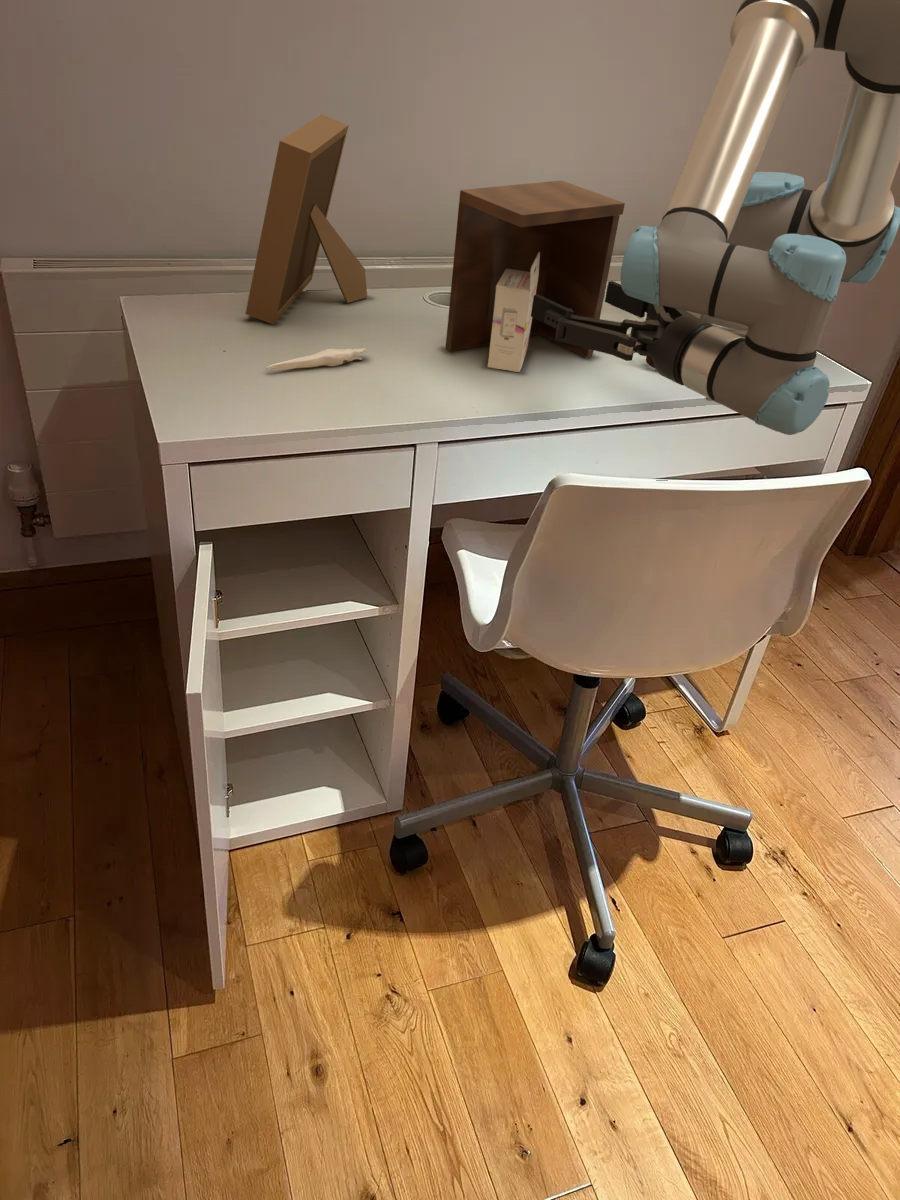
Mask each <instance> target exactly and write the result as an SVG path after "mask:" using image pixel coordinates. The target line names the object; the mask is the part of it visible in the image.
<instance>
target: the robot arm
mask: <svg viewBox="0 0 900 1200" xmlns="http://www.w3.org/2000/svg"><path fill="white" fill-rule="evenodd" d="M729 37H730V38H729V40H730V45H731V47H732V48H731V50H730V52H729V54H728V56H727V59H726V61H725V64H724V67H723V69H722V72H721V74H720V76H719V79H718V81H717V84H716V85H715V89H714V91H713V94H712V96H711V98H710V100H709V102H708V105H707V108H706V111H705V113H704V115H703V118H702V120H701V123H700V125H699V126H698V130H697V132H696V135H695V137H694V140H693V142H692V144H691V147H690V149H689V152H688V154H687V157H686V159H685V161H684V164H683V166H682V169H681V171H680V173H679V175H678V178H677V181H676V183H675V186H674V188H673V191H672V192H671V195H670V198H669V200H668V203H667V204H666V208H665V209H664V212H663V214H662V217H661V221H660V223H659V225H658V226H657V225H652V226H650V225H640V226H638V227H637V228H636V229H635V230H634V232H633V233H632V234H631V236H630V237H629V240H628V242H627V245H626V249H625V251H624V254H623V258H622V264H621V268H620V283H618V282H616V281H614V280H611V281H607V286H606V291H605V296H604V303H606V304H608V305H611V306H613V307H615V308H618V309H619V310H622V311H624V312H626V313H628V314H631V315H633V316H635V317H638V318H639V319H640V318H641V319H643V318H644V317H645V316H646V318H645V320H644V321H642V320H641V321H639V320H635V319H627V318H626V319H623V320H622V321H613V320H608V319H602V318H600V319H596V318H590V317H583V316H577V315H574V311H572V308H566V307H564V306H562V305H560V304H557V303H555V302H553V301H551V300H549V299H547V298H545V297H543V296H540V295H534V298H533V304H532V311H531V317H533V318H535V319H537V320H539V321H541V322H543V323H545V324H547V325H549V326H551V327H553V328H555V329H557V331H556V337H555V340H556V341H559V342H564V343H568V344H571V345H575V346H579V347H583V348H587V349H591V350H594V351H595V352H599V353H602V354H607V355H611V356H614V357H616V358H618V359H621V360H623V361H625V362H630V361H633V358H634V354H635V353H636V354H638V355H639V356H641V357H642V356H643V357H646V356H647V357H652V359H653V362H654V365H655V368H656V369H655V368H654V369H655V370H656V372H657V374H659V375H660V376H661V377H663V378H665V379H667V380H670V381H671V382H673V383H675V384H677V385H680V386H684V387H686V388H687V389H689V390H691V391H692V392H693V391H694V392H695V393H697V394H699V395H701V396H703V397H705V400H706V401H707V402H712V401H713V402H715V403H717V404H719V405H722V406H723V407H725V408H728V409H730V410H732V411H734V412H735V413H738V414H740V415H741V416H744V417H745V418H748V419H749V420H751V421H753V422H754V423H755V424H756V425H758V426H763V427H765V428H767V429H769V430H772V431H775V432H777V433H780V434H784V435H786V436H792V435H793V436H794V435H797V434H798V433H802V432H804V431H805V430H807V429H808V428H809V427H810V426H811V425H812V424H814V423H815V421H816V420H817V419H818V417H819V416H820V414H821V413H822V412H823V410H824V407H825V405H826V403H827V401H828V398H829V395H830V390H829V388H830V384H831V383H830V382H831V381H830V378H829V376H828V375H827V373H825V372H823V371H822V370H820V368H819V367H817V366H815V360H816V358H817V352H818V349H819V346H820V343H821V341H822V338H823V335H824V332H825V329H826V327H827V323H828V321H829V318H830V315H831V312H832V309H833V307H834V304H835V301H836V300H837V296H838V291H839V288H840V284H841V283H854V284H861V285H862V284H866V283H869V282H870V281H872V280H873V279H874V278H875V277H876V275H877V274H878V272H879V271H880V269H881V267H882V265H883V263H884V261H885V260H886V257H887V254H888V252H889V250H890V248H891V247H892V245H893V242H894V240H895V238H896V236H897V233H898V230H899V228H900V206H897V205H895V198H894V194H893V192H892V191H891V188H892V184H893V182H894V178H895V176H896V172H897V170H898V166H899V164H900V0H742V1H741V3H740V5H739V7H738V10H737V12H736V13H735V17H734V19H733V21H732V23H731V27H730V31H729ZM814 49H823V50H829V51H835V52H842V53H844V67H845V70H846V72H847V75H848V76H849V78H850V79H851V80H850V84H849V85H850V86H849V89H848V94H847V98H846V100H845V101H846V102H845V106H844V108H843V109H844V110H843V114H842V117H841V121H840V125H839V129H838V134H837V139H836V142H835V146H834V150H833V154H832V159H831V161H830V167H829V171H828V175H827V179H826V181H824V182H823V183H821V185H819V187H818V188H817V189H816V190H814V189H813V190H812V189H807V188H805V179H804V177H803V176H801V175H799V174H792V173H788V172H780V171H779V172H778V171H777V172H776V171H756V170H757V168H758V166H759V163H760V161H761V157H762V155H763V152H764V150H765V148H766V145H767V144H768V143H767V142H768V140H769V137H770V135H771V132H772V131H773V128H774V125H775V122H776V120H777V117H778V115H779V113H780V110H781V108H782V105H783V103H784V100H785V97H786V94H787V92H788V90H789V87H790V84H791V82H792V81H793V80H792V79H793V77H794V75H795V72H796V70H797V69H798V68H799V67H801V66H802V65H803V64H804V63H805V62H806V61H808V60H809V58H810V57H811V55H812V53H813V51H814ZM645 314H646V315H645ZM628 329H630V332H629V333H628Z"/></svg>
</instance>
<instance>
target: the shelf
mask: <svg viewBox="0 0 900 1200" xmlns="http://www.w3.org/2000/svg"><path fill="white" fill-rule="evenodd" d="M625 204H626V202H623V201H621V200H618V199H615V198H612V197H610V196H607V195H604V194H602V193H601V194H600V193H598V192H595V191H592V190H589V189H586V188H585V187H581V186H578V185H576V184H573V183H570V182H568V181H564V180H562V179H561V180H552V181H542V182H541V181H540V182H531V183H521V184H509V185H499V186H498V185H497V186H488V187H477V188H476V187H475V188H465V189H460V190H459V201H458V209H457V210H458V211H457V221H456V230H455V231H456V232H455V240H454V241H455V242H454V253H453V262H452V263H453V264H452V274H451V284H450V285H451V286H450V295H449V306H448V316H447V317H448V318H447V328H446V340H445V350H446V351H447V352H449V353H453V352H458V351H463V350H467V349H472V348H478V347H482V346H486V345H490V341H491V332H492V323H493V314H494V304H495V295H496V285H497V283H498V282H499V280H500V278H501V276H502V275H503V273H504V271H505V270H506V268H507V269H514V270H520V271H527V272H530V271H531V266H532V264H533V262H534V260H535V258H536V256H537V254H538V252H540V261H539V276H538V283H537V289H536V295H540V296H543V297H545V298H547V299H549V300H551V301H553V302H555V303H557V304H560V305H562V306H564V307H566V308H572V311H574V315H577V316H583V317H590V318H596V319H601V314H602V310H603V309H602V308H603V304H604V300H605V295H606V290H607V285H608V277H609V274H610V267H611V263H612V257H613V253H614V247H615V242H616V236H617V231H618V226H619V221H620V216H621V215H624V211H625ZM535 270H536V267H535ZM535 270H534V272H535ZM556 331H557V329H555V328H553V327H551V326H549V325H547V324H545V323H543V322H541V321H539V320H537V319H535V318H533V317H532V323H531V329H530V336H532V335H537V334H538V335H540V336H543V337H545V338H546V339H548V340H550V341H552V342H554V343H556V344H558V345H560V346H562V347H564V348H565V349H568V350H569V351H572V352H574V353H576V354H578V355H579V356H581V357H584V359H585V358H586V359H590V358H593V356H594V351H595V350H591V349H587V348H583V347H579V346H575V345H571V344H568V343H564V342H559V341H556V340H555V337H556Z"/></svg>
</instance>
